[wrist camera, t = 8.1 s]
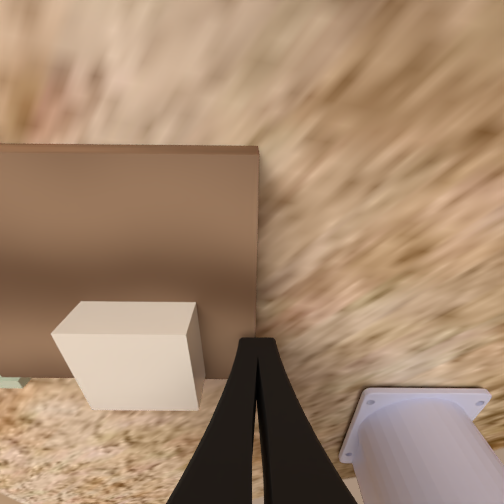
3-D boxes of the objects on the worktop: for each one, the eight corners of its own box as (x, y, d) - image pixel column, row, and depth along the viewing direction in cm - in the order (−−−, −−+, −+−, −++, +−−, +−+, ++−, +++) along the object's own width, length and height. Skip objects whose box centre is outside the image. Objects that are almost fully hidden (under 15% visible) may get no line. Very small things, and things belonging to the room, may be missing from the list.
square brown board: (254, 339, 14) (254, 379, 12) (40, 337, 14) (2, 377, 12) (257, 145, 9) (259, 154, 7) (-73, 143, 9) (-174, 151, 7)
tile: (205, 375, 11) (199, 410, 10) (111, 374, 11) (92, 410, 10) (195, 302, 9) (185, 334, 8) (80, 301, 9) (50, 333, 8)
